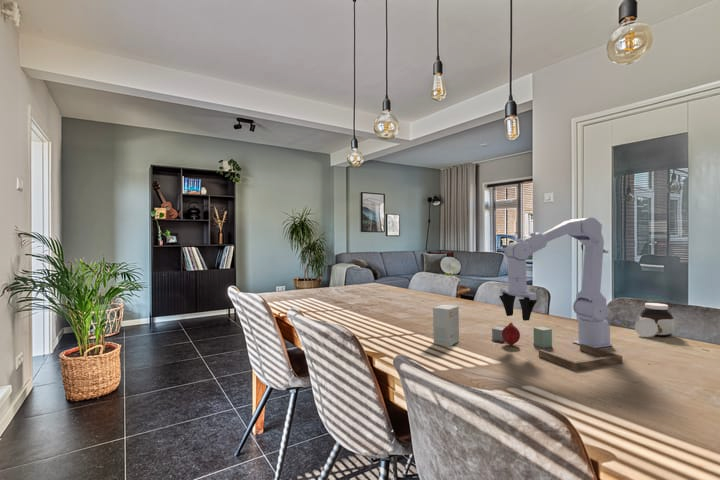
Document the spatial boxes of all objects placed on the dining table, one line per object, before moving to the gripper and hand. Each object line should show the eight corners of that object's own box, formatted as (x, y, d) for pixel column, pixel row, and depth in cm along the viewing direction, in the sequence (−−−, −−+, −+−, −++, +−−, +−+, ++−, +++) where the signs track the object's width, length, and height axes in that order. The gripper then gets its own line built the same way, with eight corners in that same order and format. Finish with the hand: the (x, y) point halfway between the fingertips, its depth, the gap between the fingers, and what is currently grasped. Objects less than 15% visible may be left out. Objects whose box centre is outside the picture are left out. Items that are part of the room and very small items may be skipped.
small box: (443, 338, 136) (443, 303, 136) (459, 341, 132) (459, 305, 132) (432, 343, 130) (432, 307, 130) (449, 346, 126) (448, 309, 126)
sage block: (542, 343, 129) (542, 326, 129) (552, 346, 125) (551, 329, 125) (533, 344, 128) (533, 327, 128) (542, 347, 124) (542, 330, 124)
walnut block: (582, 349, 121) (582, 343, 121) (622, 362, 108) (622, 355, 108) (538, 356, 115) (538, 349, 115) (575, 370, 103) (575, 363, 103)
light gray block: (498, 337, 138) (498, 326, 138) (508, 339, 135) (507, 328, 135) (492, 339, 136) (492, 328, 136) (502, 341, 132) (502, 330, 132)
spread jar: (672, 334, 138) (671, 303, 138) (678, 341, 129) (677, 308, 129) (632, 330, 145) (632, 301, 145) (635, 337, 135) (635, 305, 135)
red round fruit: (521, 348, 124) (521, 324, 124) (503, 347, 125) (503, 324, 125) (518, 343, 129) (517, 320, 129) (500, 342, 130) (500, 320, 130)
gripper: (493, 276, 129) (493, 314, 129) (523, 280, 115) (524, 323, 116) (509, 275, 131) (509, 313, 132) (541, 279, 118) (541, 321, 118)
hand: (517, 317), depth 124 cm, fingers open, 7 cm apart
